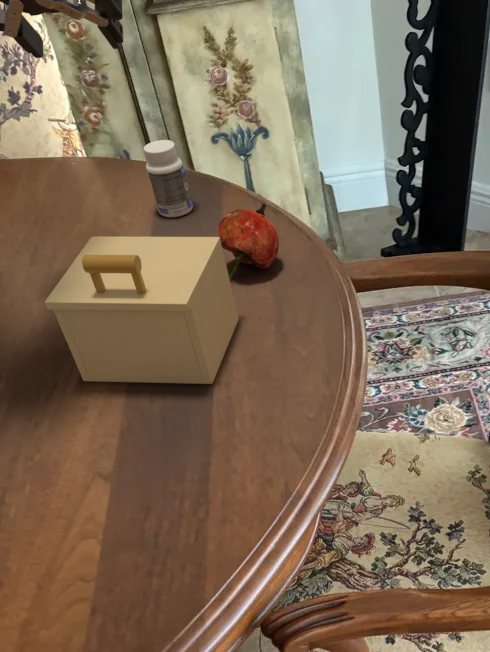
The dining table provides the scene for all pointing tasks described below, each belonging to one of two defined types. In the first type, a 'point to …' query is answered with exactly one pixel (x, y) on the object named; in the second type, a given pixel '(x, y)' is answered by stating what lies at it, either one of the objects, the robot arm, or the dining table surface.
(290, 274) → the dining table surface
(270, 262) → the pomegranate
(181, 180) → the pill bottle
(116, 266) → the chest lid
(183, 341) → the chest
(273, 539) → the dining table surface
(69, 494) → the dining table surface
